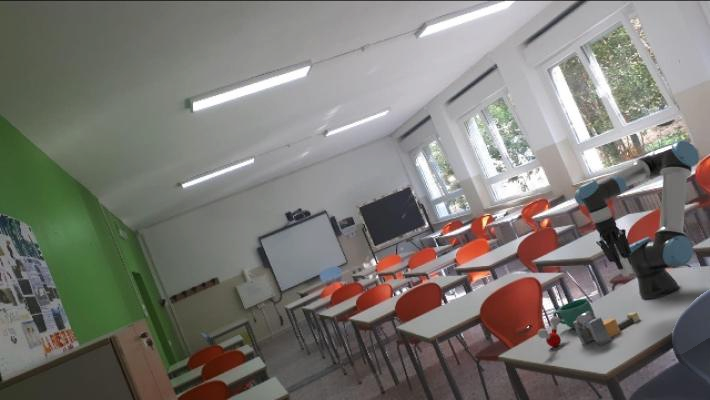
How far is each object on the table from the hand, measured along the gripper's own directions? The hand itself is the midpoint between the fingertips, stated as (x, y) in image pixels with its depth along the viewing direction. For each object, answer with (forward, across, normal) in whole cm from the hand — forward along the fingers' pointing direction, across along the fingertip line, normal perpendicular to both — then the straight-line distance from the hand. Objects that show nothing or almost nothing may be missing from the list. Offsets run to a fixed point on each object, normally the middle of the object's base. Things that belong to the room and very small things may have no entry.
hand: (628, 274), depth 224 cm
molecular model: (+17, +32, -18) cm, 40 cm away
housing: (+16, +26, 0) cm, 30 cm away
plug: (+17, +13, 0) cm, 21 cm away
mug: (+17, +13, -27) cm, 34 cm away
